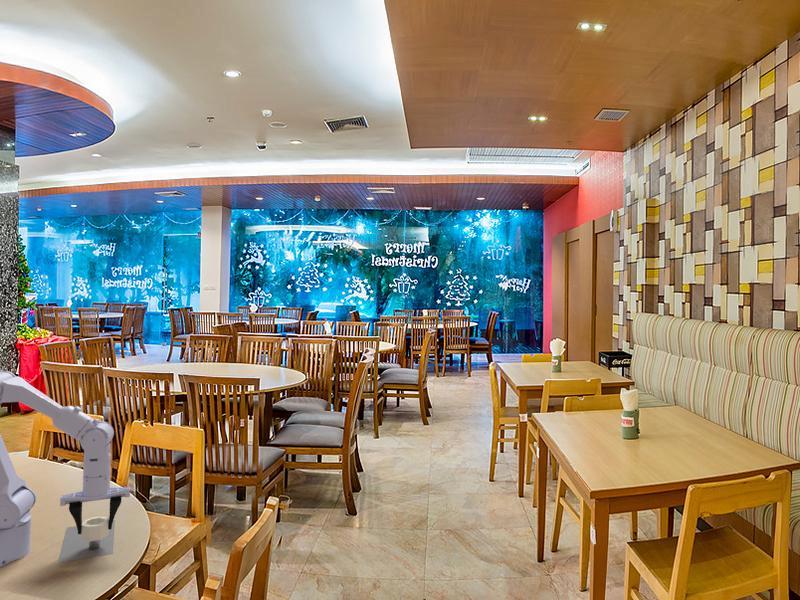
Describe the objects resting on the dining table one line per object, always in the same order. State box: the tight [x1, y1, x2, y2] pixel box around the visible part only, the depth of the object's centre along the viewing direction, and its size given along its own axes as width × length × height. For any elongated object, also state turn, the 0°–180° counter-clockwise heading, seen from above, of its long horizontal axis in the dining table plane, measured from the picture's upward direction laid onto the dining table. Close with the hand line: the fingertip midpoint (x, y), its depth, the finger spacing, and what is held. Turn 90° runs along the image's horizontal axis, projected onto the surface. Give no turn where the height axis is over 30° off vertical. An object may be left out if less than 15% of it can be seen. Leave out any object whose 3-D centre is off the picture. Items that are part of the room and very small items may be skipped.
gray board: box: [57, 520, 116, 564], centre depth 130 cm, size 20×11×1 cm, turn 28°
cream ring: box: [81, 515, 109, 542], centre depth 126 cm, size 6×6×4 cm
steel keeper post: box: [89, 540, 100, 550], centre depth 126 cm, size 2×2×4 cm
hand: (95, 530), depth 126 cm, fingers closed on cream ring, 6 cm apart
